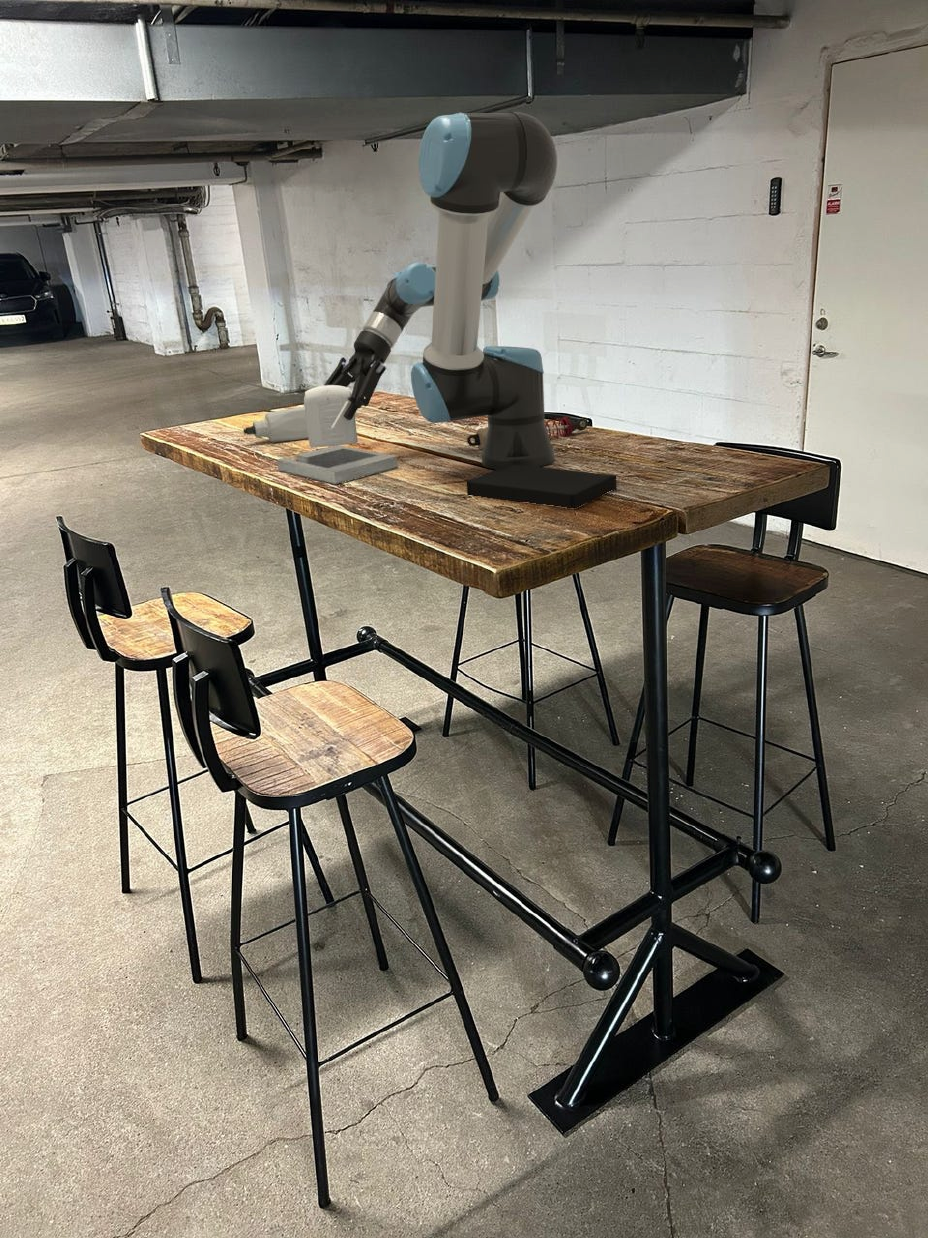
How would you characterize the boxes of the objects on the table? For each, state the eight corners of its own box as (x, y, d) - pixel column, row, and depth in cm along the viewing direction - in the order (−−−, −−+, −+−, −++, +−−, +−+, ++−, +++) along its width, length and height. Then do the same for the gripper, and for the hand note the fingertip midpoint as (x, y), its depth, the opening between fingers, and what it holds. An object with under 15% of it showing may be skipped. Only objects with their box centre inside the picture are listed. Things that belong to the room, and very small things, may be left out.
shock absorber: (580, 416, 209) (461, 433, 199) (589, 411, 205) (468, 428, 195) (583, 436, 209) (466, 453, 200) (593, 431, 205) (473, 449, 195)
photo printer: (357, 440, 192) (350, 381, 187) (358, 444, 188) (351, 384, 183) (310, 445, 191) (301, 386, 186) (309, 449, 187) (301, 389, 182)
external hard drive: (574, 511, 150) (574, 494, 149) (467, 497, 164) (466, 481, 163) (616, 491, 160) (616, 474, 159) (511, 478, 174) (511, 463, 173)
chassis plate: (398, 467, 188) (396, 456, 187) (335, 484, 179) (334, 472, 178) (338, 455, 204) (337, 445, 203) (278, 470, 194) (276, 459, 193)
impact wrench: (231, 423, 240) (242, 413, 217) (313, 411, 248) (333, 401, 224) (238, 453, 242) (249, 446, 218) (319, 441, 249) (339, 433, 226)
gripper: (418, 352, 185) (365, 444, 182) (359, 349, 200) (309, 434, 197) (396, 329, 180) (341, 423, 177) (337, 327, 194) (285, 414, 191)
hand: (324, 429), depth 187 cm, fingers closed on photo printer, 8 cm apart
